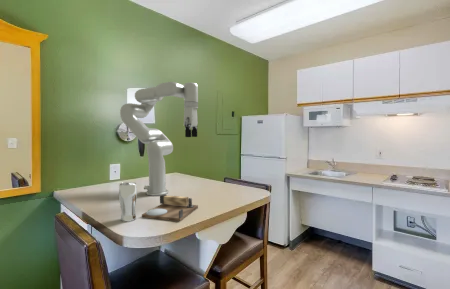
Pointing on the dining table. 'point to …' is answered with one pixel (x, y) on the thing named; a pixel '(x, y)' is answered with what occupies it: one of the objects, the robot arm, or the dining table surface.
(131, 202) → the beer glass
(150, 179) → the robot arm
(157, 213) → the felt pad
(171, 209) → the seat board
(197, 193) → the dining table surface
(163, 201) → the leg
